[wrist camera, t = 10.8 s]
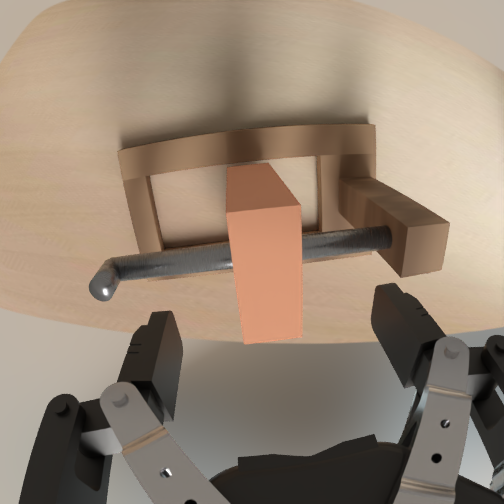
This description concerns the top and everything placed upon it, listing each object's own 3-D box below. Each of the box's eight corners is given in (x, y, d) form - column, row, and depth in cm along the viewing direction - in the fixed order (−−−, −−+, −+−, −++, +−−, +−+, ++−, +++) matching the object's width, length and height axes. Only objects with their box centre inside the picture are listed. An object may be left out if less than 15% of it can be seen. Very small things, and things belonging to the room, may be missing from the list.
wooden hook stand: (369, 124, 23) (463, 142, 12) (366, 248, 28) (431, 326, 17) (122, 149, 22) (43, 184, 11) (150, 274, 28) (114, 369, 17)
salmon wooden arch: (227, 167, 21) (225, 212, 12) (268, 162, 21) (300, 204, 12) (237, 253, 24) (244, 344, 15) (274, 249, 24) (302, 336, 15)
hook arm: (382, 221, 17) (406, 241, 14) (380, 242, 17) (402, 265, 15) (103, 254, 16) (85, 279, 14) (110, 275, 17) (94, 302, 14)
